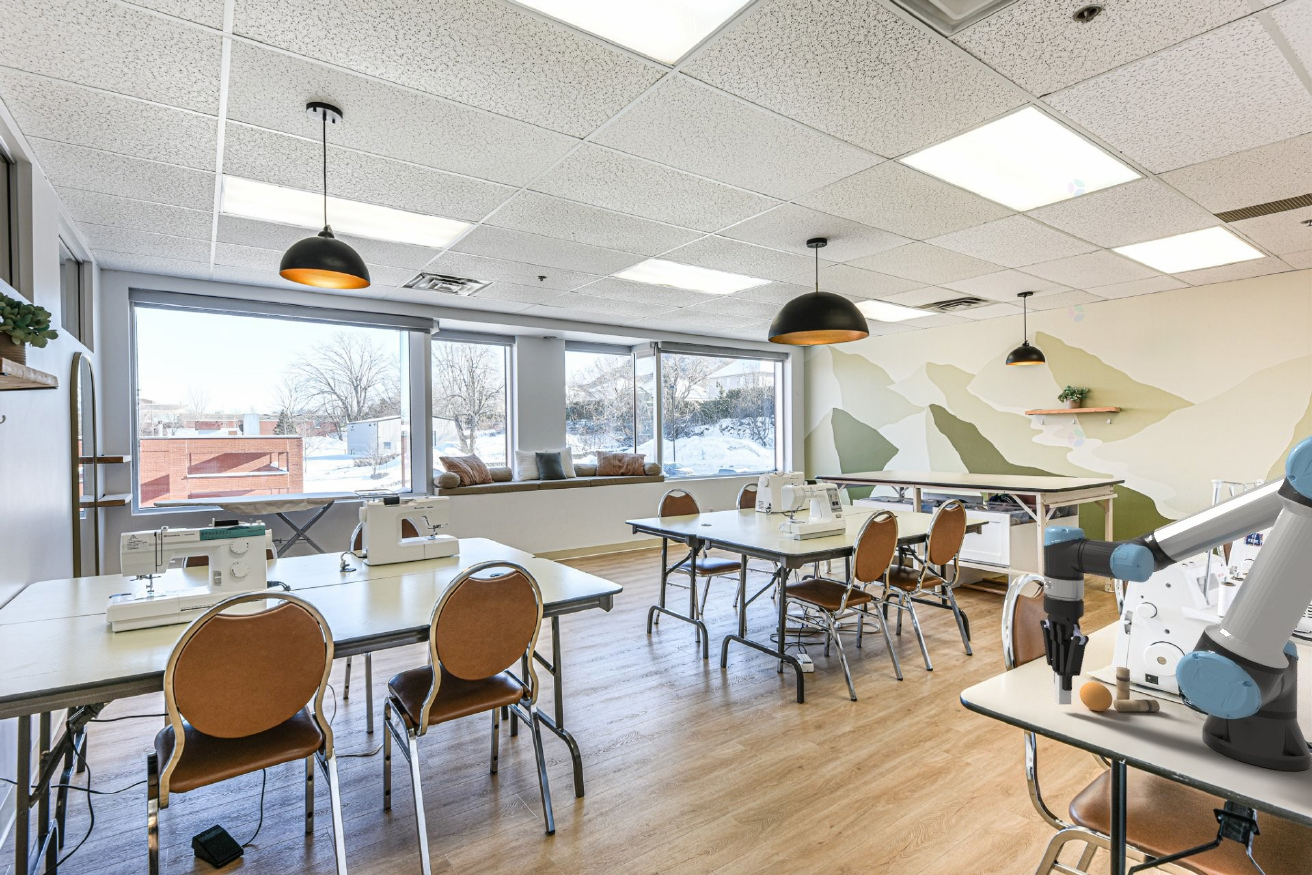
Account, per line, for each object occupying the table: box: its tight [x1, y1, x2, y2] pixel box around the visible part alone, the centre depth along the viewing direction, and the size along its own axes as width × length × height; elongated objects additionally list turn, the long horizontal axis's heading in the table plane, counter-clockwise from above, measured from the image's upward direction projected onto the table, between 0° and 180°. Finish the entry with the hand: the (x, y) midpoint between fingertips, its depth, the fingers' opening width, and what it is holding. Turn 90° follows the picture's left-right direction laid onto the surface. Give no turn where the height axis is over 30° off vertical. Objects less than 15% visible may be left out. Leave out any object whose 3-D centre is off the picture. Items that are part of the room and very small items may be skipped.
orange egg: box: [1079, 681, 1113, 712], centre depth 139 cm, size 6×6×6 cm
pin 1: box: [1115, 666, 1131, 700], centre depth 141 cm, size 2×2×8 cm
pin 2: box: [1112, 699, 1161, 713], centre depth 139 cm, size 2×2×8 cm
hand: (1062, 702), depth 138 cm, fingers closed
